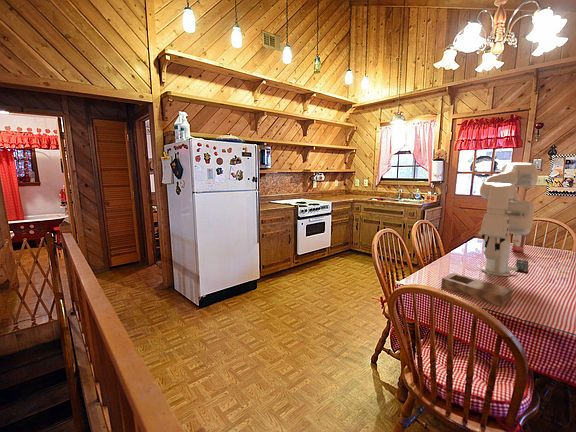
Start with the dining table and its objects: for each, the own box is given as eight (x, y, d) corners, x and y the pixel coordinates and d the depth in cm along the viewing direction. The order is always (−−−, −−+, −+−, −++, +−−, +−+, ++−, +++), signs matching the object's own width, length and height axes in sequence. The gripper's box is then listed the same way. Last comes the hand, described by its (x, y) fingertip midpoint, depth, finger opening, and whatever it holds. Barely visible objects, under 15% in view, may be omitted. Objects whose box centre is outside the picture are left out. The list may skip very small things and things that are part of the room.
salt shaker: (480, 256, 140) (483, 230, 137) (491, 256, 140) (494, 230, 138) (489, 260, 134) (493, 233, 132) (501, 260, 135) (504, 233, 132)
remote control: (527, 263, 173) (528, 261, 173) (527, 274, 155) (527, 272, 155) (516, 261, 176) (517, 259, 176) (514, 272, 158) (515, 269, 158)
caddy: (511, 299, 125) (512, 289, 124) (501, 306, 118) (502, 296, 117) (452, 281, 144) (453, 272, 143) (441, 287, 137) (442, 278, 136)
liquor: (527, 253, 191) (533, 211, 186) (516, 253, 191) (522, 211, 186) (518, 250, 198) (524, 209, 193) (507, 250, 198) (513, 209, 193)
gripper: (521, 213, 129) (515, 252, 132) (480, 208, 142) (475, 244, 145) (515, 215, 124) (509, 256, 128) (473, 210, 137) (469, 247, 141)
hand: (491, 249), depth 136 cm, fingers closed on salt shaker, 3 cm apart
